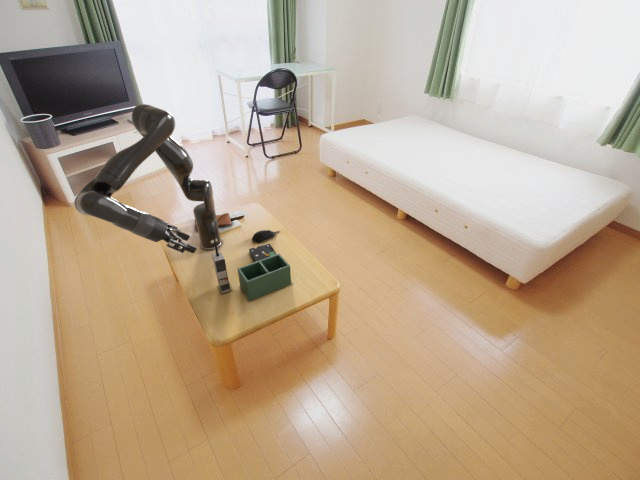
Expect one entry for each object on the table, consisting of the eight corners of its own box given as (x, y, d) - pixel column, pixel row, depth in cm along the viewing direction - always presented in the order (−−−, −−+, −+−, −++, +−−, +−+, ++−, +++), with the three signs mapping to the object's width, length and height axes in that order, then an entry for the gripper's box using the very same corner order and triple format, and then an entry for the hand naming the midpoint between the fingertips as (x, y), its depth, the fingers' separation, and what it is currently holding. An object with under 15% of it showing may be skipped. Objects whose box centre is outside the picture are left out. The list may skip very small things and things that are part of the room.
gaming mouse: (282, 234, 169) (281, 227, 167) (256, 245, 161) (255, 238, 159) (275, 229, 173) (274, 222, 171) (249, 239, 165) (248, 232, 163)
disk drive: (249, 253, 156) (259, 272, 145) (248, 248, 155) (258, 267, 144) (270, 247, 160) (281, 265, 149) (269, 243, 159) (281, 260, 148)
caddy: (240, 286, 138) (237, 268, 132) (280, 271, 146) (279, 253, 140) (249, 301, 131) (246, 282, 126) (291, 284, 139) (290, 265, 134)
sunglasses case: (197, 232, 169) (194, 219, 168) (196, 232, 175) (193, 219, 175) (233, 224, 175) (230, 211, 174) (231, 224, 182) (228, 212, 181)
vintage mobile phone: (221, 294, 134) (210, 243, 120) (218, 286, 138) (207, 236, 123) (231, 291, 136) (221, 240, 121) (227, 283, 139) (217, 233, 125)
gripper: (158, 227, 102) (203, 246, 113) (149, 207, 111) (192, 226, 123) (145, 246, 102) (191, 263, 114) (137, 225, 112) (180, 242, 124)
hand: (191, 244), depth 119 cm, fingers open, 8 cm apart
